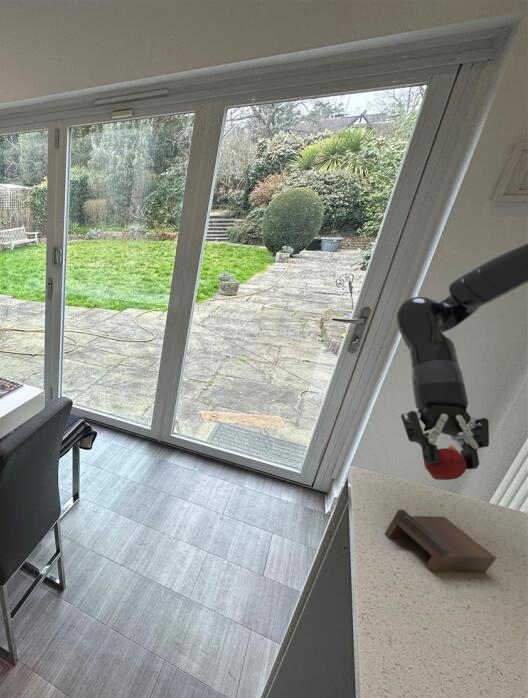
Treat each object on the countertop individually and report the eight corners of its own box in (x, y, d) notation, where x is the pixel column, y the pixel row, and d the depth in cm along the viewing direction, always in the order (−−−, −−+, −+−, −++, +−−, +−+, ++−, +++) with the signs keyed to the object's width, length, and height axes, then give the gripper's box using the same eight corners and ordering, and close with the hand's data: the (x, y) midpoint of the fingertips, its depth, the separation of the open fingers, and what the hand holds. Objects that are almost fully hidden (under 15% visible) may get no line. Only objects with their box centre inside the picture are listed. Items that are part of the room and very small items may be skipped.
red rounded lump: (459, 481, 83) (479, 449, 79) (451, 492, 80) (471, 459, 76) (422, 466, 87) (439, 435, 83) (413, 476, 84) (430, 444, 80)
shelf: (432, 534, 84) (448, 510, 81) (482, 577, 75) (502, 551, 72) (384, 533, 84) (398, 509, 81) (427, 575, 75) (445, 550, 72)
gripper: (412, 376, 83) (425, 458, 78) (496, 383, 80) (514, 469, 75) (385, 388, 90) (396, 464, 85) (462, 394, 87) (477, 473, 82)
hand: (451, 466), depth 80 cm, fingers closed on red rounded lump, 5 cm apart
